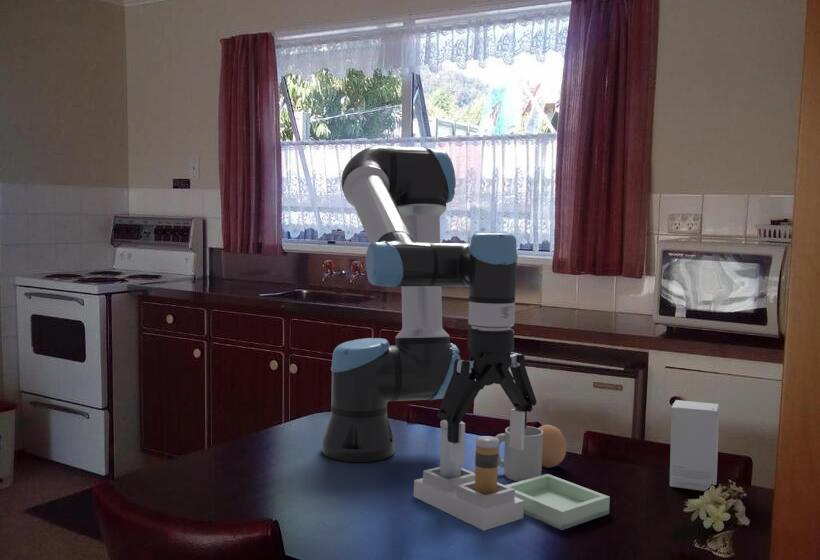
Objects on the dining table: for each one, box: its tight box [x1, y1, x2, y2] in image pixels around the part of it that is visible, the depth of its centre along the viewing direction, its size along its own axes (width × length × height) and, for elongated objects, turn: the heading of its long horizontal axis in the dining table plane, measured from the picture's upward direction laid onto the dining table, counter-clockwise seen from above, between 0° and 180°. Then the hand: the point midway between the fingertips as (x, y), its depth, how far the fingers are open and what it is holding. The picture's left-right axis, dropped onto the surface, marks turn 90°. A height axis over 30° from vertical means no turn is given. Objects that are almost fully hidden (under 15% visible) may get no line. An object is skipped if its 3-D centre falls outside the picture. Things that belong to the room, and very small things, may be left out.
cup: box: [494, 425, 543, 482], centre depth 150 cm, size 7×10×9 cm
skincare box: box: [669, 399, 720, 492], centre depth 147 cm, size 8×7×16 cm
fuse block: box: [413, 419, 524, 532], centre depth 133 cm, size 18×9×14 cm, turn 38°
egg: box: [538, 424, 567, 469], centre depth 156 cm, size 7×7×8 cm
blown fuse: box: [474, 435, 500, 495], centre depth 129 cm, size 4×4×10 cm
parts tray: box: [504, 473, 611, 531], centre depth 134 cm, size 14×12×3 cm
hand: (487, 455), depth 129 cm, fingers open, 13 cm apart
